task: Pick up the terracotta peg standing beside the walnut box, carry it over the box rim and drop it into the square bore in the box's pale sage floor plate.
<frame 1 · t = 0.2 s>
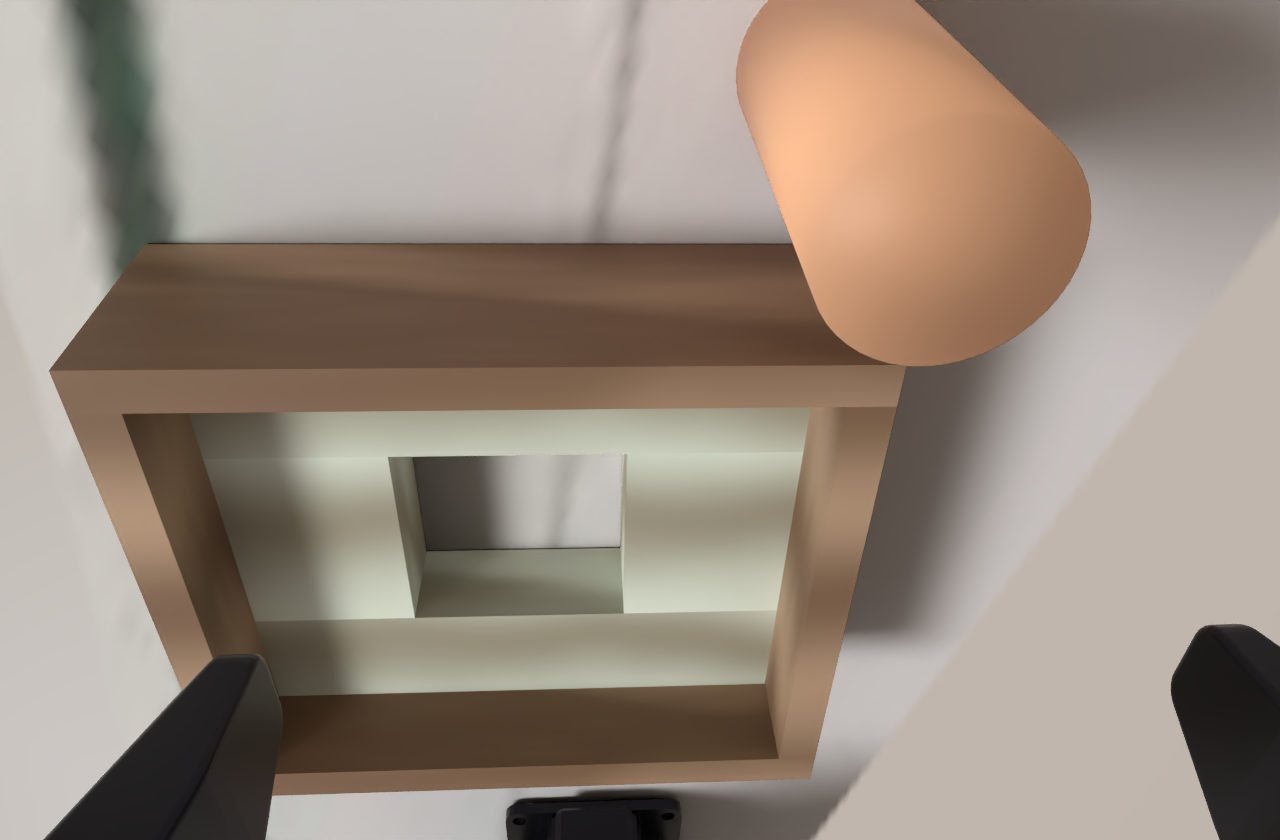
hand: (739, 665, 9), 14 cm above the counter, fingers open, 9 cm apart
bore box: (519, 476, 26), on the counter
peg: (831, 70, 20), on the counter
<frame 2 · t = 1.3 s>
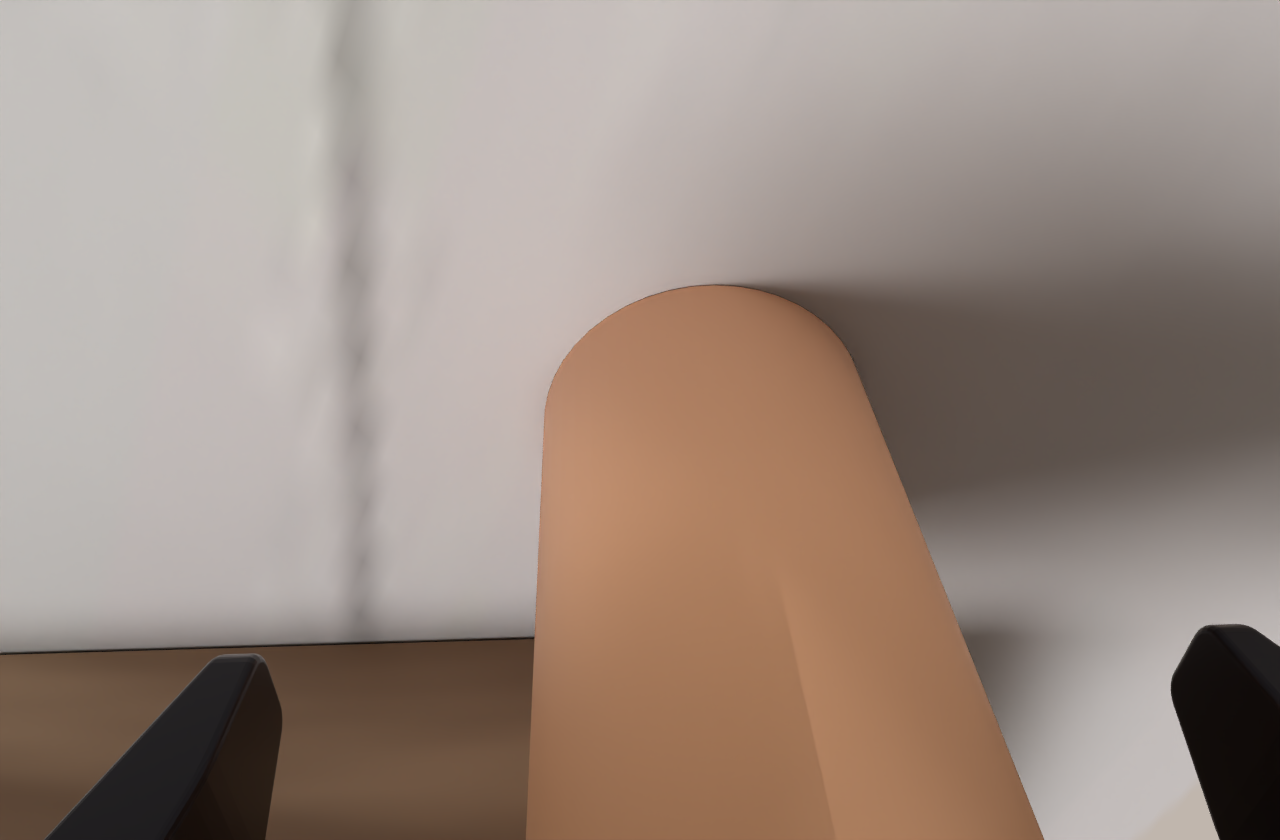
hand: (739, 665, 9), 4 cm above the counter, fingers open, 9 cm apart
peg: (703, 424, 12), on the counter
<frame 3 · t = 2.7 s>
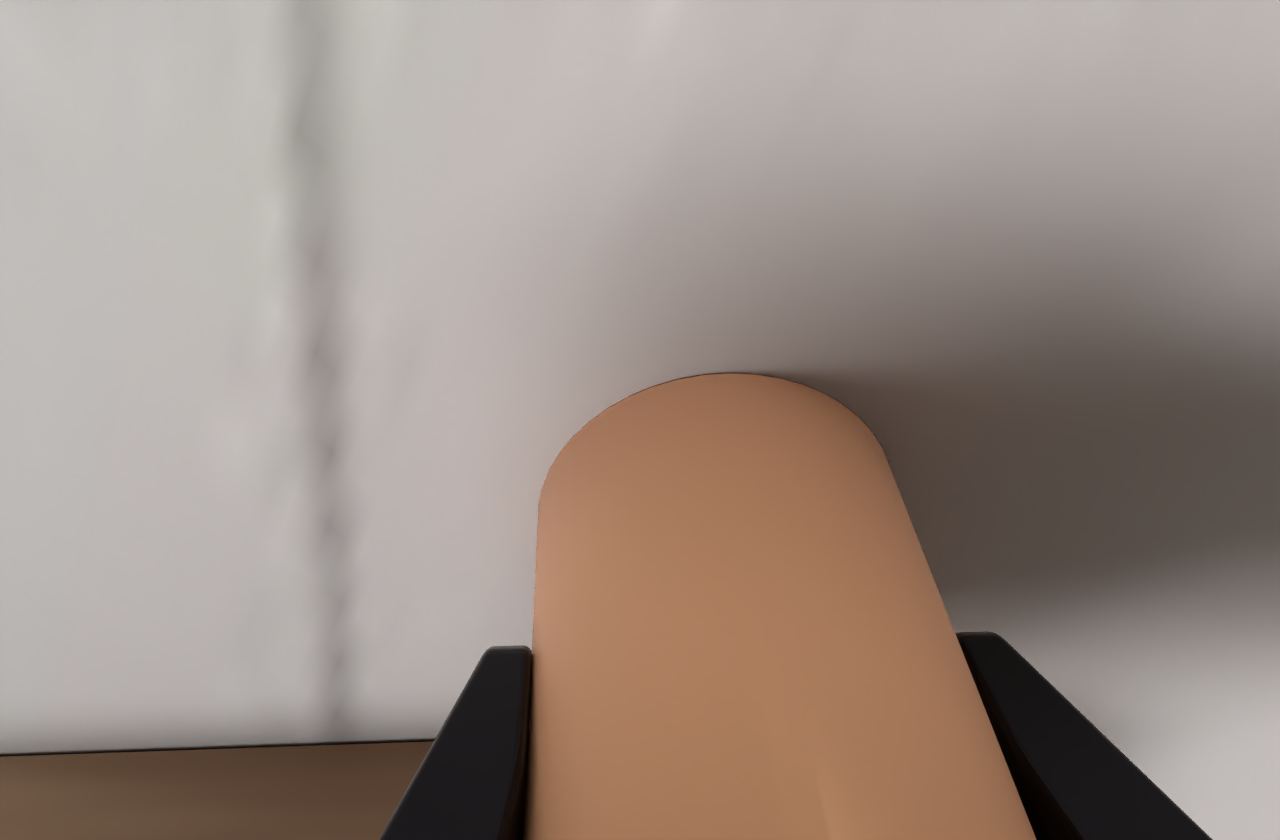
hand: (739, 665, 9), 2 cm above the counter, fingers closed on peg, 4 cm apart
peg: (715, 518, 11), on the counter, touching gripper
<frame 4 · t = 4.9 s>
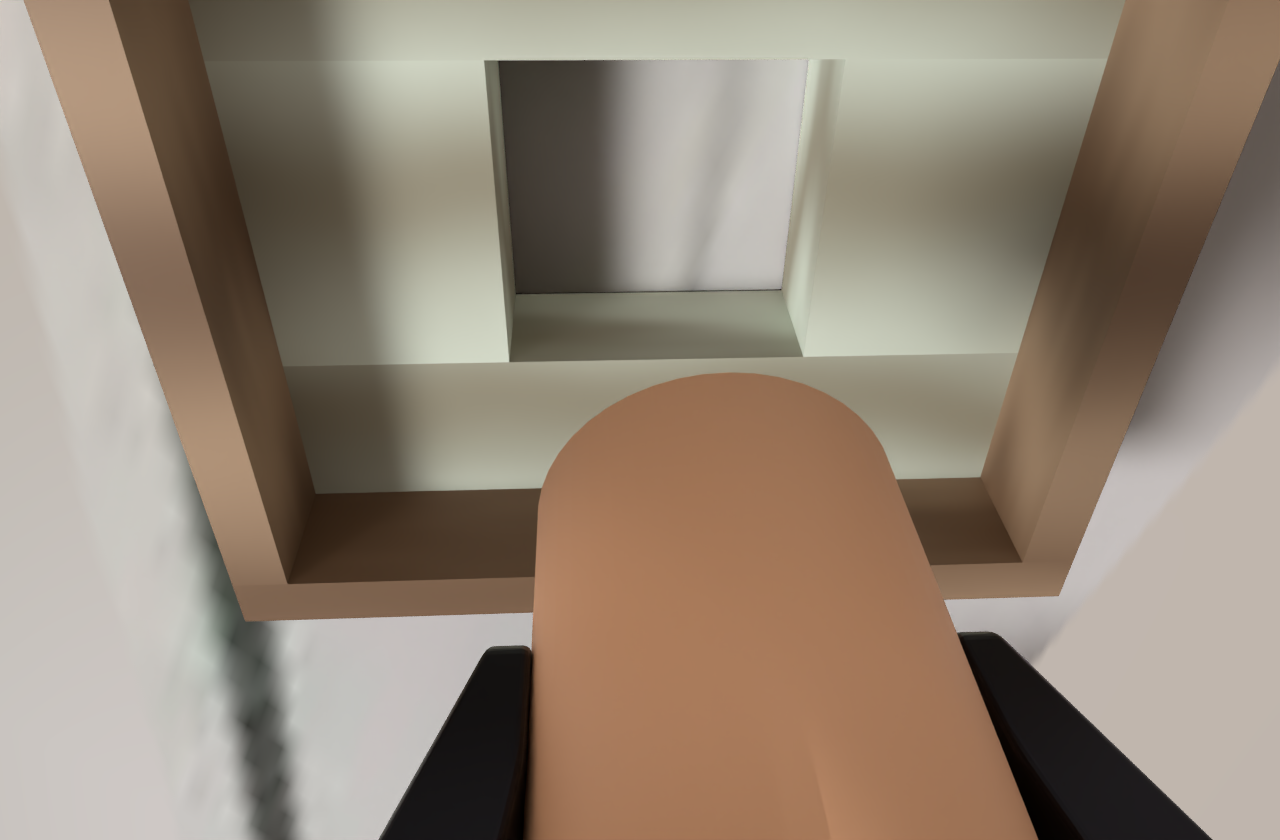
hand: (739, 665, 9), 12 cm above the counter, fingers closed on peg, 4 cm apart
bore box: (652, 165, 19), on the counter
peg: (716, 518, 11), point 10 cm above the counter, touching gripper
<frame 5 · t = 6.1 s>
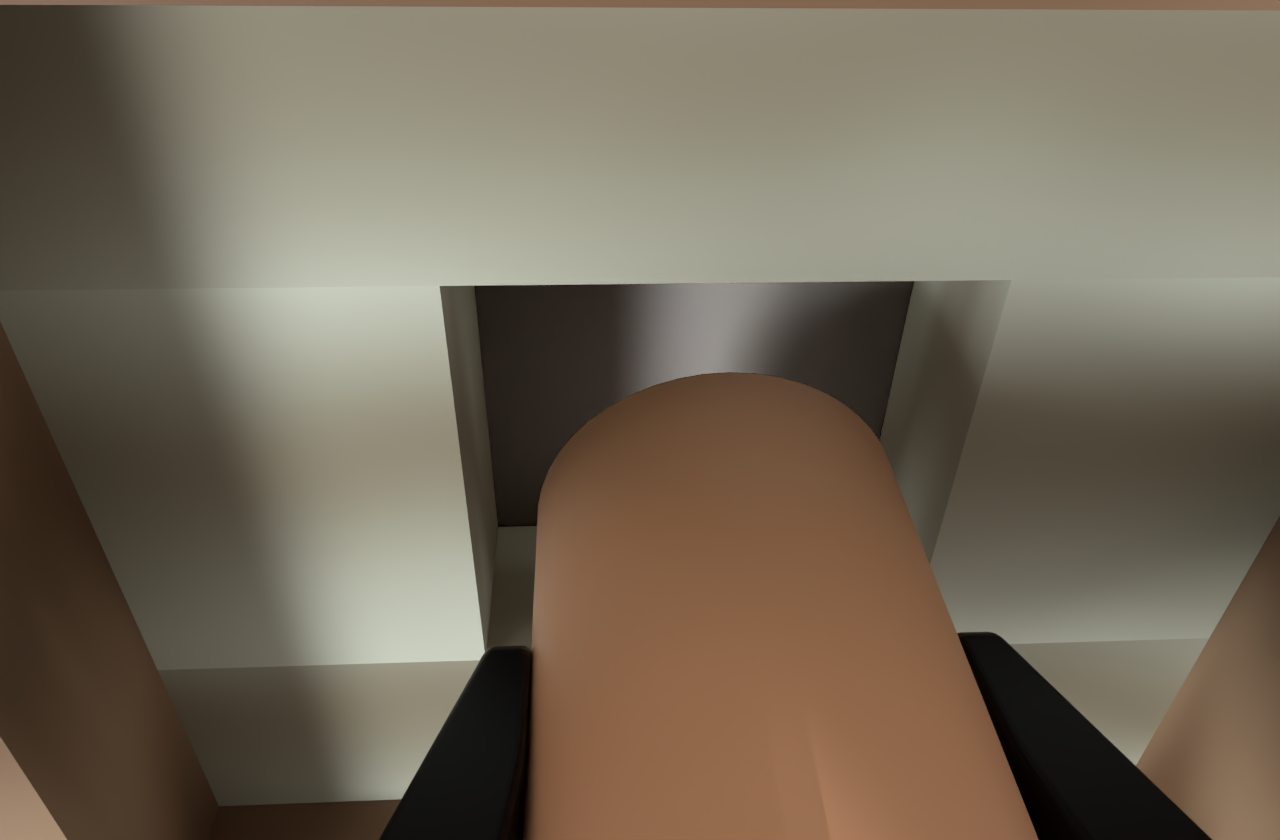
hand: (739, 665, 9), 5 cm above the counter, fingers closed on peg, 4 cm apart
bore box: (691, 372, 13), on the counter
peg: (716, 518, 11), point 3 cm above the counter, touching gripper
when the fingers open (3 cm above the counter, at t = 7.2 s): peg drops 1 cm, resting in bore box.
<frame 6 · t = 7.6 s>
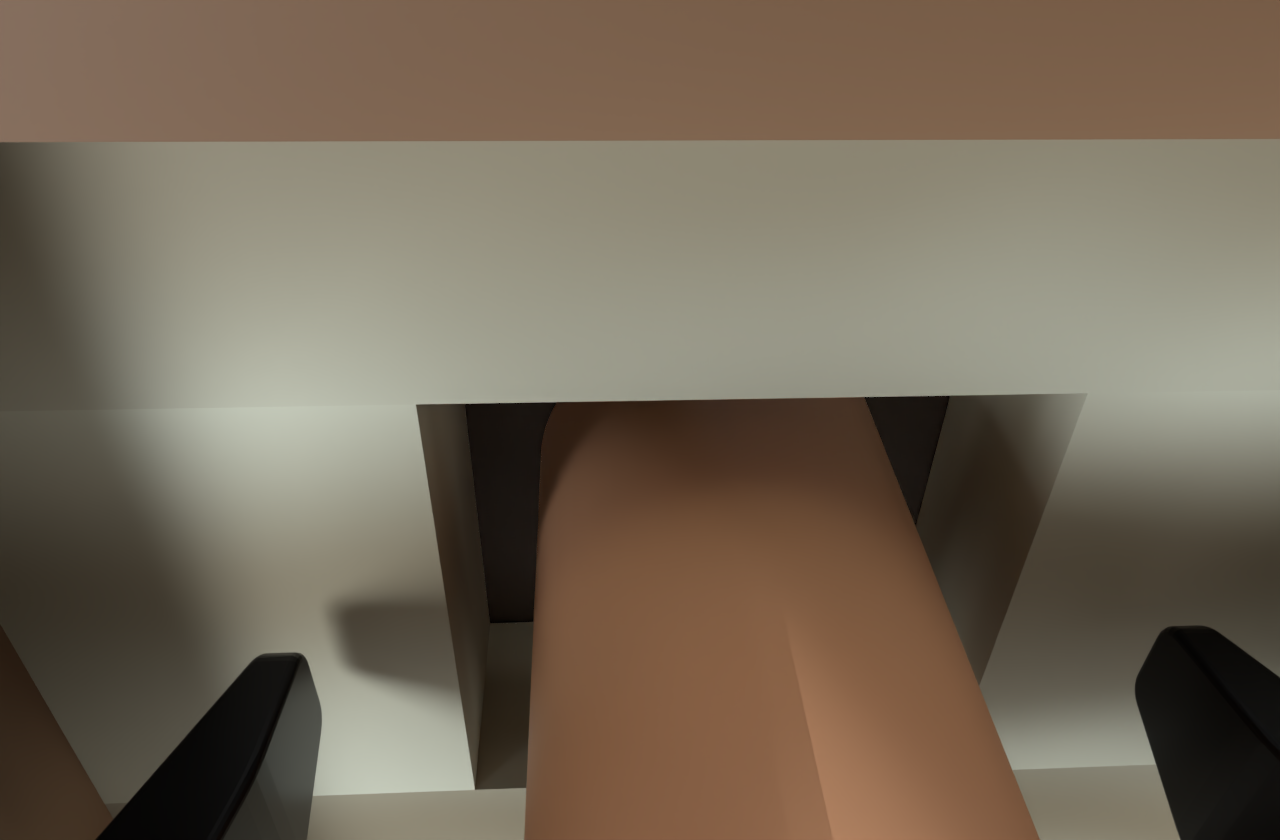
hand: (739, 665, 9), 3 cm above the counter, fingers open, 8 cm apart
bore box: (705, 462, 12), on the counter
peg: (706, 460, 12), resting in bore box
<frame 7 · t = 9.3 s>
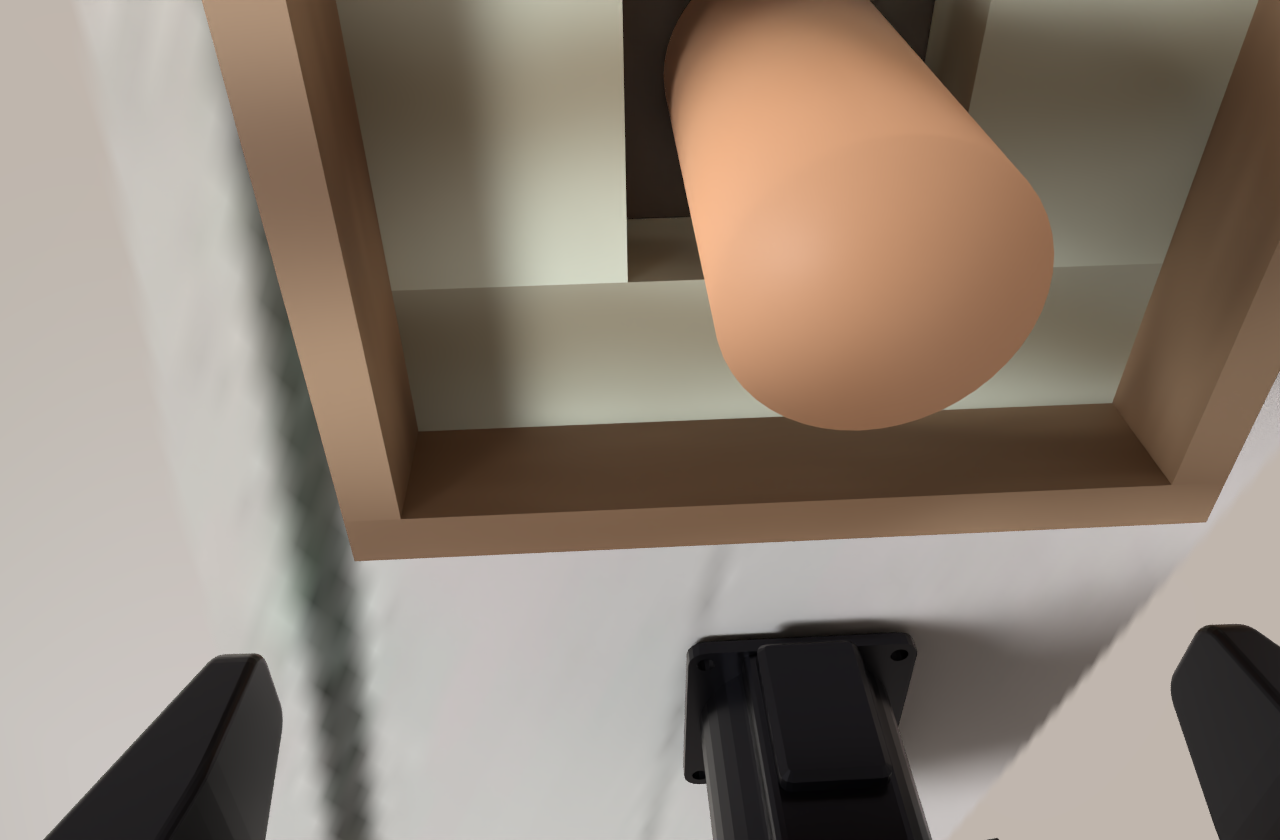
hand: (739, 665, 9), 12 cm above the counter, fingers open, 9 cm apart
bore box: (772, 74, 18), on the counter
peg: (772, 72, 18), resting in bore box
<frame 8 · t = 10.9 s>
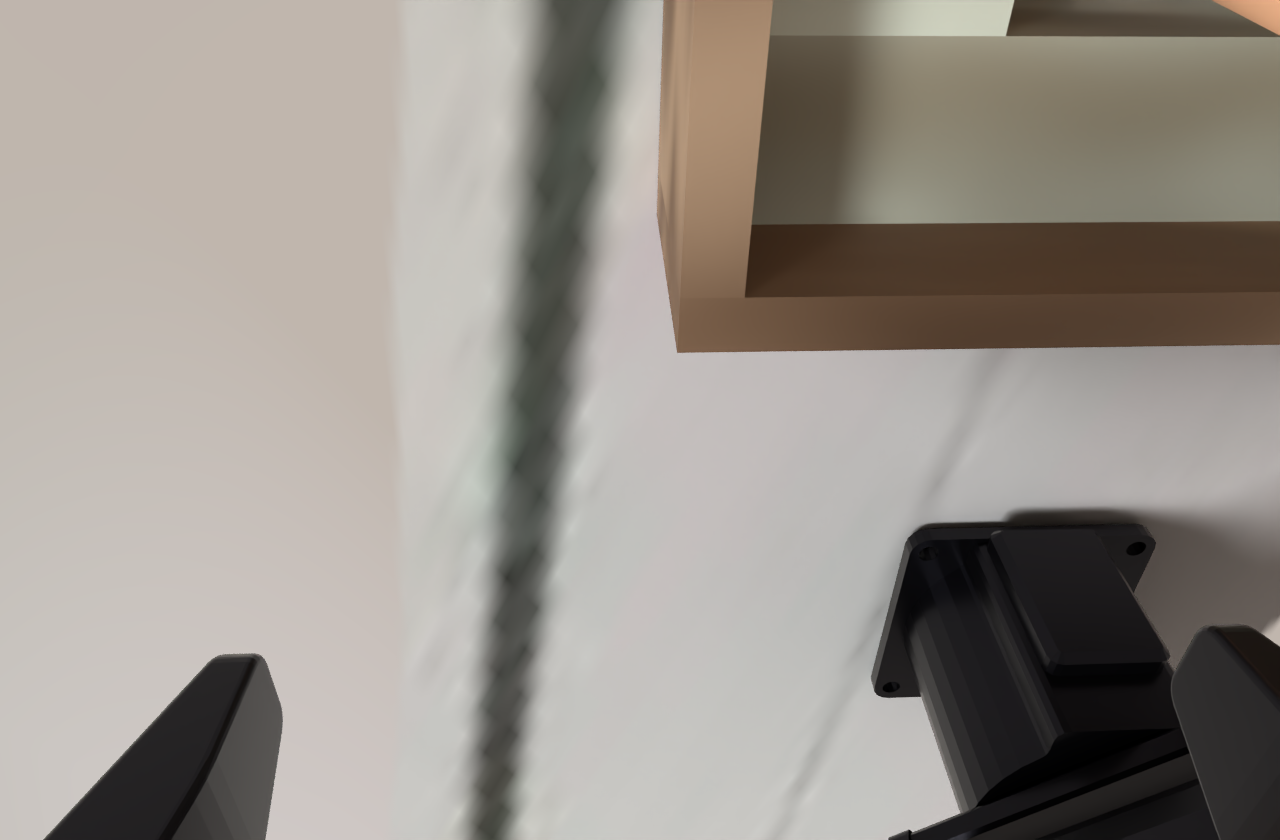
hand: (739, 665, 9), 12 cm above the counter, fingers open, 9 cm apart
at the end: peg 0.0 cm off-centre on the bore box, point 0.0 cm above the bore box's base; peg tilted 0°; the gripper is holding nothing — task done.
